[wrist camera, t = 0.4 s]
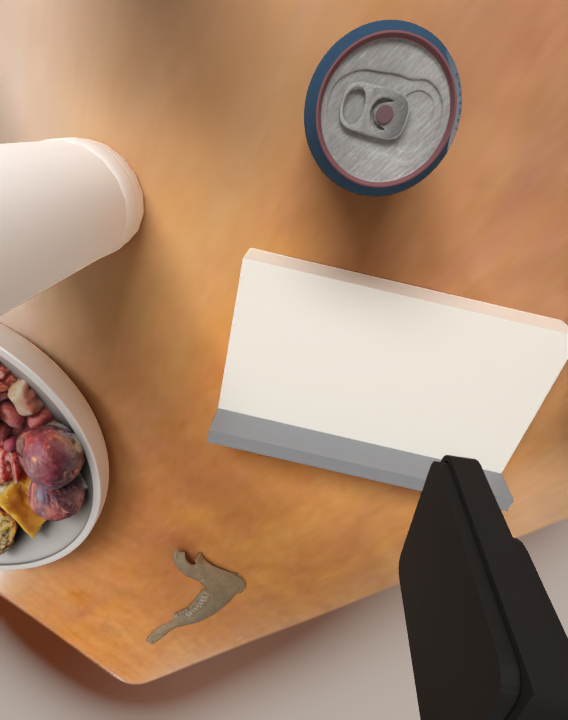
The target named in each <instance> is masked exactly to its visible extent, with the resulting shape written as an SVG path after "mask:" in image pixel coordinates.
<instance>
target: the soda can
mask: <svg viewBox="0 0 568 720" xmlns="http://www.w3.org/2000/svg"><path fill="white" fill-rule="evenodd" d="M461 108H462V91H461V83H460V78H459V74H458V71H457V68H456V65H455V63H454V61H453V59H452V57H451V55H450V53H449V52H448V50H447V49H446V47H445V46H444V45H443V43H442V42H441V41H440V40H439V39H438V38H437V37H436V36H434V35H433V34H432V33H431V32H429V31H428V30H426V29H424V28H423V27H420V26H418V25H416V24H413V23H410V22H406V21H400V20H382V21H376V22H372V23H368V24H366V25H363V26H361V27H358V28H356V29H355V30H353V31H351V32H349V33H348V34H346V35H345V36H344V37H342V38H341V39H340V40H339V41H338V42H336V43H335V44H334V45H333V46H332V47H331V49H330V50H329V51H328V52H327V53H326V55H325V56H324V57H323V59H322V60H321V62H320V63H319V65H318V67H317V68H316V70H315V72H314V74H313V77H312V79H311V82H310V85H309V88H308V91H307V95H306V101H305V109H304V125H305V133H306V138H307V142H308V145H309V148H310V151H311V153H312V155H313V157H314V159H315V161H316V163H317V164H318V166H319V167H320V169H321V170H322V171H323V172H324V173H325V175H326V176H327V177H328V178H330V179H331V180H332V181H333V182H334V183H336V184H337V185H339V186H340V187H342V188H344V189H346V190H348V191H350V192H353V193H356V194H360V195H365V196H386V195H391V194H395V193H398V192H401V191H404V190H406V189H408V188H410V187H412V186H414V185H415V184H417V183H418V182H420V181H421V180H423V179H424V178H425V177H426V176H428V175H429V174H430V173H431V172H432V171H433V170H434V169H435V168H436V167H437V165H438V164H439V163H440V162H441V160H442V159H443V158H444V156H445V155H446V153H447V151H448V150H449V148H450V146H451V144H452V142H453V139H454V137H455V135H456V132H457V129H458V125H459V121H460V116H461Z"/></svg>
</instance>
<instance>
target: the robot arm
mask: <svg viewBox="0 0 568 720" xmlns="http://www.w3.org/2000/svg"><path fill="white" fill-rule="evenodd" d="M399 579H400V586H401V592H402V599H403V605H404V612H405V619H406V625H407V632H408V639H409V645H410V652H411V658H412V665H413V671H414V679H415V685H416V692H417V698H418V705H419V712H420V718H421V720H568V638H567V636H566V634H565V632H564V629H563V627H562V625H561V623H560V621H559V618H558V616H557V614H556V612H555V610H554V608H553V605H552V603H551V601H550V599H549V597H548V595H547V593H546V591H545V588H544V586H543V584H542V581H541V580H540V577H539V575H538V573H537V571H536V568H535V566H534V564H533V562H532V560H531V558H530V555H529V553H528V551H527V550H526V548H525V546H524V545H523V543H522V542H521V541H520V540H518V539H517V538H513V537H512V535H511V532H510V530H509V528H508V526H507V523H506V521H505V519H504V516H503V514H502V512H501V510H500V507H499V505H498V503H497V501H496V498H495V496H494V494H493V492H492V489H491V487H490V485H489V482H488V480H487V478H486V476H485V473H484V471H483V469H482V467H481V464H480V463H479V461H478V460H476V459H472V458H465V457H458V456H451V455H445V456H444V457H443V458H442V460H441V462H438V461H433V462H432V464H431V466H430V469H429V472H428V475H427V478H426V481H425V484H424V487H423V490H422V493H421V496H420V499H419V502H418V505H417V508H416V511H415V514H414V517H413V520H412V523H411V526H410V529H409V531H408V534H407V537H406V540H405V543H404V546H403V549H402V552H401V556H400V560H399Z"/></svg>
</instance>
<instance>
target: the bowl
mask: <svg viewBox="0 0 568 720" xmlns="http://www.w3.org/2000/svg"><path fill="white" fill-rule="evenodd" d="M108 483H109V461H108V454H107V449H106V444H105V441H104V437H103V434H102V431H101V429H100V426H99V424H98V422H97V419H96V417H95V415H94V413H93V411H92V409H91V408H90V406H89V404H88V403H87V401H86V399H85V398H84V396H83V395H82V393H81V392H80V391H79V389H78V388H77V387H76V385H75V384H74V383H73V382H72V380H71V379H70V378H69V377H68V376H67V375H66V374H65V372H64V371H63V370H62V369H61V368H60V367H59V366H58V365H57V364H56V363H55V362H54V361H53V360H52V359H50V358H49V357H48V356H47V355H46V354H45V353H44V352H42V351H41V350H40V349H39V348H37V347H36V346H35V345H34V344H32V343H31V342H29V341H28V340H27V339H25V338H24V337H22V336H21V335H19V334H18V333H16V332H15V331H13V330H11V329H10V328H8V327H6V326H5V325H3V324H1V323H0V570H18V569H27V568H33V567H37V566H41V565H45V564H48V563H51V562H54V561H56V560H58V559H60V558H62V557H64V556H66V555H67V554H69V553H70V552H72V551H73V550H74V549H76V548H77V547H78V546H79V545H80V544H81V543H82V542H83V541H84V540H85V539H86V537H87V536H88V535H89V533H90V532H91V530H92V529H93V527H94V525H95V523H96V522H97V520H98V518H99V516H100V514H101V511H102V509H103V506H104V503H105V500H106V496H107V491H108Z"/></svg>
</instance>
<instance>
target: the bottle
mask: <svg viewBox="0 0 568 720" xmlns="http://www.w3.org/2000/svg"><path fill="white" fill-rule="evenodd" d="M143 214H144V206H143V193H142V190H141V187H140V184H139V182H138V179H137V176H136V174H135V173H134V171H133V170H132V169H131V167H130V166H129V165H128V163H127V162H126V160H125V159H124V158H123V157H122V156H121V155H120V154H118V153H117V152H115V151H114V150H113V149H111V148H110V147H109V146H107V145H106V144H103V143H100V142H97V141H93V140H90V139H87V138H85V139H80V138H74V137H72V138H59V139H48V140H43V141H37V142H21V143H5V144H0V316H1V315H3V314H5V313H6V312H8V311H10V310H11V309H13V308H15V307H17V306H18V305H20V304H22V303H24V302H25V301H27V300H29V299H31V298H32V297H34V296H36V295H38V294H39V293H41V292H43V291H44V290H46V289H48V288H50V287H51V286H53V285H55V284H57V283H58V282H60V281H62V280H64V279H65V278H67V277H69V276H70V275H72V274H74V273H76V272H77V271H79V270H81V269H83V268H84V267H86V266H88V265H90V264H91V263H93V262H95V261H96V260H98V259H101V258H103V257H105V256H107V255H109V254H111V253H113V252H115V251H117V250H119V249H120V248H121V247H122V246H123V245H124V244H126V243H128V242H129V241H130V239H131V238H132V237H133V236H134V235H135V234H136V232H137V231H138V230H139V227H140V224H141V221H142V217H143Z"/></svg>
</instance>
